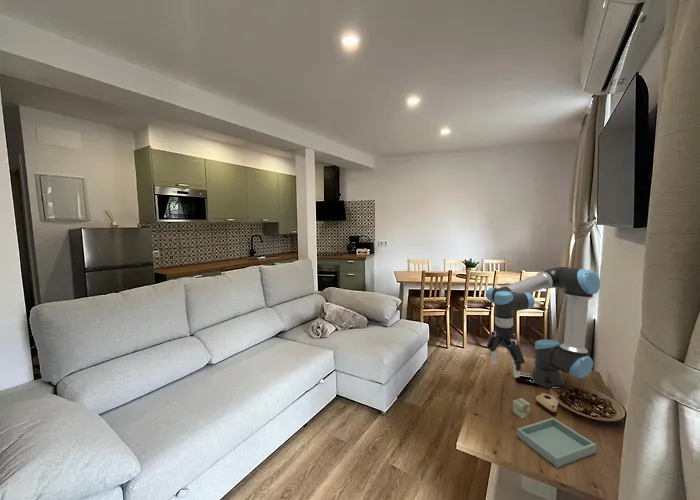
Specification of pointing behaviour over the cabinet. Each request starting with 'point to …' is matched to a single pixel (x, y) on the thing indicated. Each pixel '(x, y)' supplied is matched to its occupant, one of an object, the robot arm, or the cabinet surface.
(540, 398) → the pottery oil lamp
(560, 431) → the bin
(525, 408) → the olive block
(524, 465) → the cabinet surface
